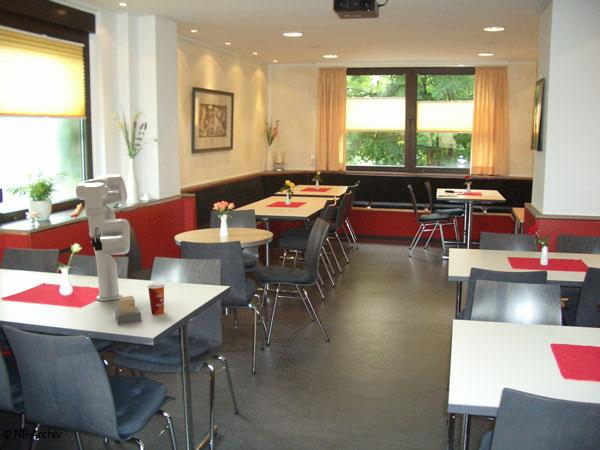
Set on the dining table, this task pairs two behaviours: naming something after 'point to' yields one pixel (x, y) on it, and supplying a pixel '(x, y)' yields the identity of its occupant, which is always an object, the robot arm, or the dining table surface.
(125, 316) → the slate pedestal
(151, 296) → the paper cup
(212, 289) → the dining table surface
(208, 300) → the dining table surface
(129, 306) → the oak cube
